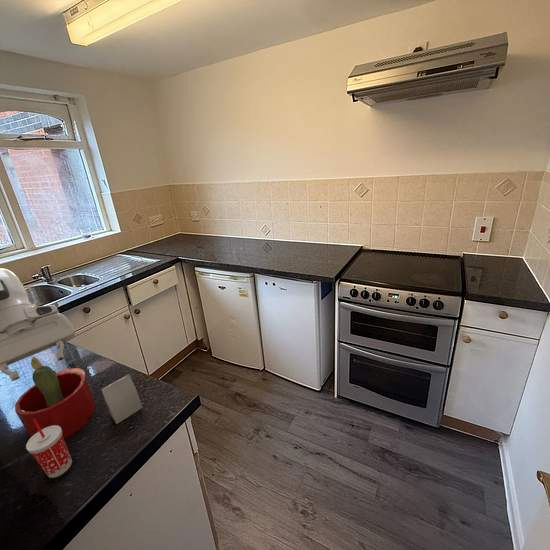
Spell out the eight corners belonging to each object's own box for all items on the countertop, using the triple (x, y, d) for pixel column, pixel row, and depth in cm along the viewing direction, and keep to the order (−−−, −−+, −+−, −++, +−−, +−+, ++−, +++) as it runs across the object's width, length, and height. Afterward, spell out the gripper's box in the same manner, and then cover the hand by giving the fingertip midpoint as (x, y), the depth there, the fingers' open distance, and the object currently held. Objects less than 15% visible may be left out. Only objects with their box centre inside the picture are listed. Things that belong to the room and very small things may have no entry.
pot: (33, 455, 69) (15, 425, 66) (29, 420, 80) (14, 392, 76) (101, 418, 77) (89, 389, 74) (90, 390, 88) (79, 364, 85)
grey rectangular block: (142, 407, 79) (132, 377, 76) (116, 424, 75) (103, 393, 71) (137, 401, 82) (126, 371, 78) (111, 416, 78) (99, 386, 74)
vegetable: (56, 415, 79) (25, 353, 72) (74, 408, 81) (46, 347, 74) (53, 427, 76) (20, 363, 68) (72, 420, 77) (42, 356, 70)
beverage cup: (71, 449, 69) (48, 403, 64) (79, 464, 65) (55, 416, 60) (40, 470, 65) (12, 422, 60) (47, 487, 61) (18, 438, 56)
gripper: (-41, 337, 69) (-20, 389, 65) (61, 302, 82) (83, 345, 79) (-32, 346, 73) (-12, 396, 70) (63, 312, 86) (84, 353, 83)
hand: (39, 368), depth 74 cm, fingers open, 8 cm apart
